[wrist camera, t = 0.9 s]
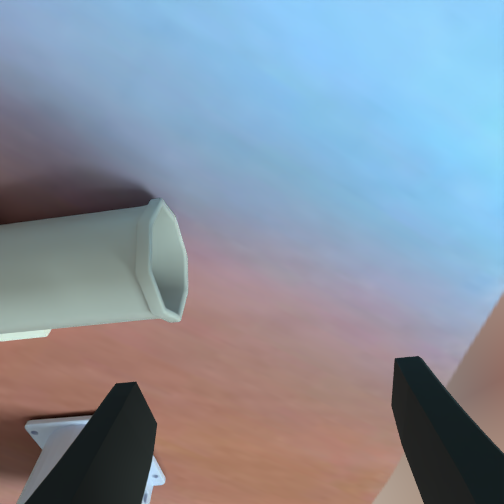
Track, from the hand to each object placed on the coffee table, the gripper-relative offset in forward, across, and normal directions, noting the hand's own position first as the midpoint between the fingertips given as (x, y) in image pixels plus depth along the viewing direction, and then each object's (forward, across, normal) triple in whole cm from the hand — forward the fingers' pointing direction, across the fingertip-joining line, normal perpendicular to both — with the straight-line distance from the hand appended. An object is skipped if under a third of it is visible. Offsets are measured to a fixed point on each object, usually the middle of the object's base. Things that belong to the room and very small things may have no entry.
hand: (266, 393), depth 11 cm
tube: (+10, +17, 0) cm, 19 cm away
